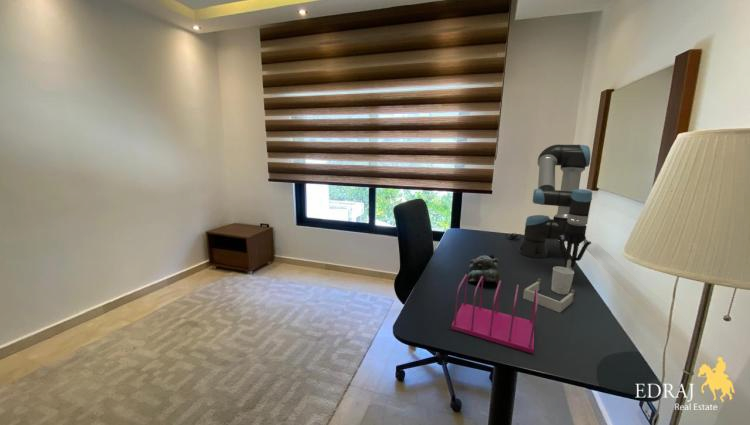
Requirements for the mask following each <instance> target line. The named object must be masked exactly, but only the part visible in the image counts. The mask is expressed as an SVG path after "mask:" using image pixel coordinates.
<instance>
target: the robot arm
mask: <svg viewBox="0 0 750 425" xmlns="http://www.w3.org/2000/svg"><path fill="white" fill-rule="evenodd" d="M590 164H591V150H590V147H589V145H585V144H553V145H550V146H548V147H545V149H544V150H542V152H540V154H539V155H538V158H537V166H538V168H539V169H538V180H537V181H538V182H537V184H538V185H537V188H535V189H533V194H532V195H533V196H532V204H535V205H541V206H543V205H544V206H554V207H555V206H556V207H557V213H556V214H554V215H553V218H552V219H551V218H550V216H549V215H544V214H543V215H542V214H536V215H535V214H534V215H529V216H527V217H526V220H525V228H524V233H523V240H522V241H521V243H520V245H519V247H518V253H519V254H520V255H522V256H525V257H529V258H534V259H544V258H547V257H548V249H547V246H546V244H547V243H546V241H547V240H553V241H554V240H555V241H559V250H560V257H562V258H564V263H563V265H564V267H565V266H566V267H565V268H569V269H571V270H573V268H575V266H576V263H577V262H579V261H580V260H582V258H583V256H584V255H585V252H586V251H587V248H588V246H590V245H591V244H592V242H591V241H590V240H588V239H587V236H586V232H587V225H588V220H589V214H590V210H591V209H590V208H591V203H592V200H593V192H592V190H589V189H584V188H581V189H580V184H581V178H582V173H583V172H584V171H585V170H586V167H589V166H590ZM556 166H560V168H559V169H560V170H561V171H562V179H561V184H560V190H557V189H556ZM566 242H567V243H566ZM565 243H566V244H565ZM581 243H583V246H581V249H580V250H579V247H580V244H581ZM572 247H573V248H572ZM578 252H579V253H578ZM571 253H572V255H571Z"/></svg>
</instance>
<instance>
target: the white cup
mask: <svg viewBox="0 0 750 425" xmlns="http://www.w3.org/2000/svg"><path fill="white" fill-rule="evenodd" d="M574 275H575V271H574V270H573V269H572V270H571V269H569V268H566V267H565V266H553V267H552V274H551V288H550V289H551V291H552V292H553V293H555V294H556V293H557V294H559V295H564V296H565V295H566V296H567V295H568V294H570V291H571V288H572V285H573V284H572V283H573V280H574Z"/></svg>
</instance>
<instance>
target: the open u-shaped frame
mask: <svg viewBox="0 0 750 425" xmlns="http://www.w3.org/2000/svg"><path fill="white" fill-rule="evenodd" d="M541 281H542V279H541V278H537V281H536V282H534V283H532V284H530V285H529V286H527V287H526V288H524V290H523V295H522V296H523V297H522V299H524V300H527V301H529V302H532V303H533V302H534V296H535V290H536V288H537V289H538V292H539V291H540V288H541ZM575 292H576V291H575V289H570V292H569V294H567V295H566V296H565V297H563V298H562V299H561V300H560V301H559V300H557V299H554V298H551V297H550V296H546V295H543V294H541V293H538V305H540V306H543V307H544V308H546V309H549V310H551V311H554V312H557V313H562V312H563V311H564V310H565V309H566V308H567V307H569V306H570V305H571V304H572V303H573V302H574V298H575V297H574V296H575ZM535 301H536V300H535Z"/></svg>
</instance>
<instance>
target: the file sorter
mask: <svg viewBox="0 0 750 425" xmlns="http://www.w3.org/2000/svg"><path fill="white" fill-rule="evenodd" d="M468 274H469V273H465V275H464V276H463V278H462V280H461V281H460V283H459V285H458V288H457V292H456V298H455V306H454V308H455V310H454V319H453V321H452V323H451V326H450V329H451V330H453V331H457V332H460V333H463V334H466V335H470V336H473V337H477V338H479V339H483V340H485V341H486V340H487V341H490V342H493V343H496V344H500V345H503V346H506V347H510V348H512V349H516V350H519V351H523V352H526V353H528V354H534V347H535V325H536V320H537V312H538V305H539V304H538V294H539V291H538V289H537V288H536V290H535V296H534V302H532V309H531V313H530V314H531V315H530V320H529V319H526V318H523V317H518V316H515V315H516V314H515V313H516V309H517V308H516V306H517V300H518V292H519V284H516V289H515V295H514V300H513V304H512V305H513V306H512V312H511V313H512V314H507V313H503V312H499V311H498V308H499V301H500V297H501V294H500V293H501V287H502V280H500V279H499V282H498V283H497V287H496V290H495V292H494V296H493V301H492V307H491V308H492V310H491V309H488V308H487V309H486V308H484V307H482V301H483V287H484V281H483V276H481V278H480V280H479V281H477V282H478V283H477V285H476V287H475V290H474V294H473V304H468V303H467V293H468V292H467V291H468V282H469V280H468ZM481 280H482V281H481ZM464 282H465V288H464V289H465V290H464V299H463V300H464V301H463V302H462V303H461V305H460V307H459V309H458V306H459V304H458V303H459V296H460V295H459V293H460V289H461V287H462V286H463V284H464ZM480 284H481V285H480ZM479 287H480V295H479V296H480V298H479V306H476V297H477V296H476V295H477V291H478V289H479ZM535 300H536V301H535ZM495 306H496V307H495Z"/></svg>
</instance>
